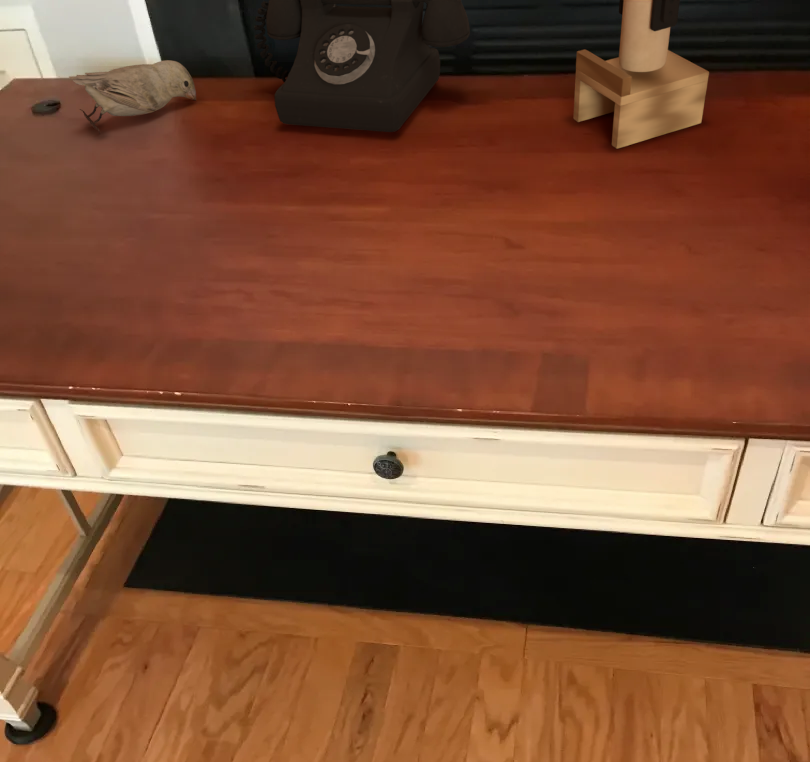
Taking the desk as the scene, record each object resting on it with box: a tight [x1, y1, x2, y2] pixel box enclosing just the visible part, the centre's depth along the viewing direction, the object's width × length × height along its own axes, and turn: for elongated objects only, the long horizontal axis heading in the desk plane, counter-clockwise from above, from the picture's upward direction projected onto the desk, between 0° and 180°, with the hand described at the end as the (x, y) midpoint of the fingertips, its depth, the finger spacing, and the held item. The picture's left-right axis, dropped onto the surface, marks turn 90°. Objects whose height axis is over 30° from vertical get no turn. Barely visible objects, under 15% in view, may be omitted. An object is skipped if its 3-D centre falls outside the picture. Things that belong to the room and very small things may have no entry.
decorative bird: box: [68, 59, 197, 135], centre depth 123 cm, size 5×16×7 cm, turn 119°
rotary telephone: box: [253, 0, 471, 133], centre depth 116 cm, size 30×17×15 cm, turn 70°
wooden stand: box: [572, 49, 710, 149], centre depth 109 cm, size 12×10×8 cm
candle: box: [618, 0, 671, 72], centre depth 103 cm, size 6×6×10 cm
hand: (647, 18), depth 103 cm, fingers closed on candle, 5 cm apart
